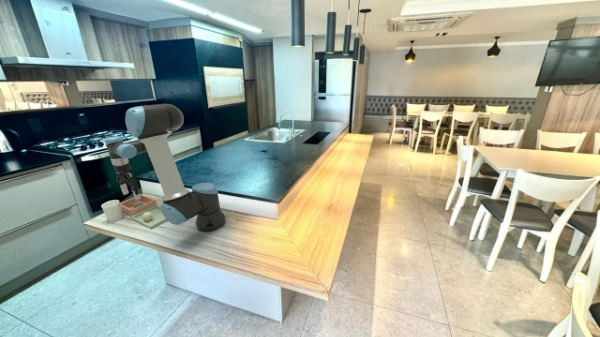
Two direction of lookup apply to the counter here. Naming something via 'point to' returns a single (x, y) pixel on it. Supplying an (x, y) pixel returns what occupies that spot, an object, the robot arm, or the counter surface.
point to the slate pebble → (138, 204)
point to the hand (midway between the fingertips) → (132, 196)
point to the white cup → (112, 210)
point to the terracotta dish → (130, 210)
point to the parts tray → (156, 218)
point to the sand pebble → (147, 216)
